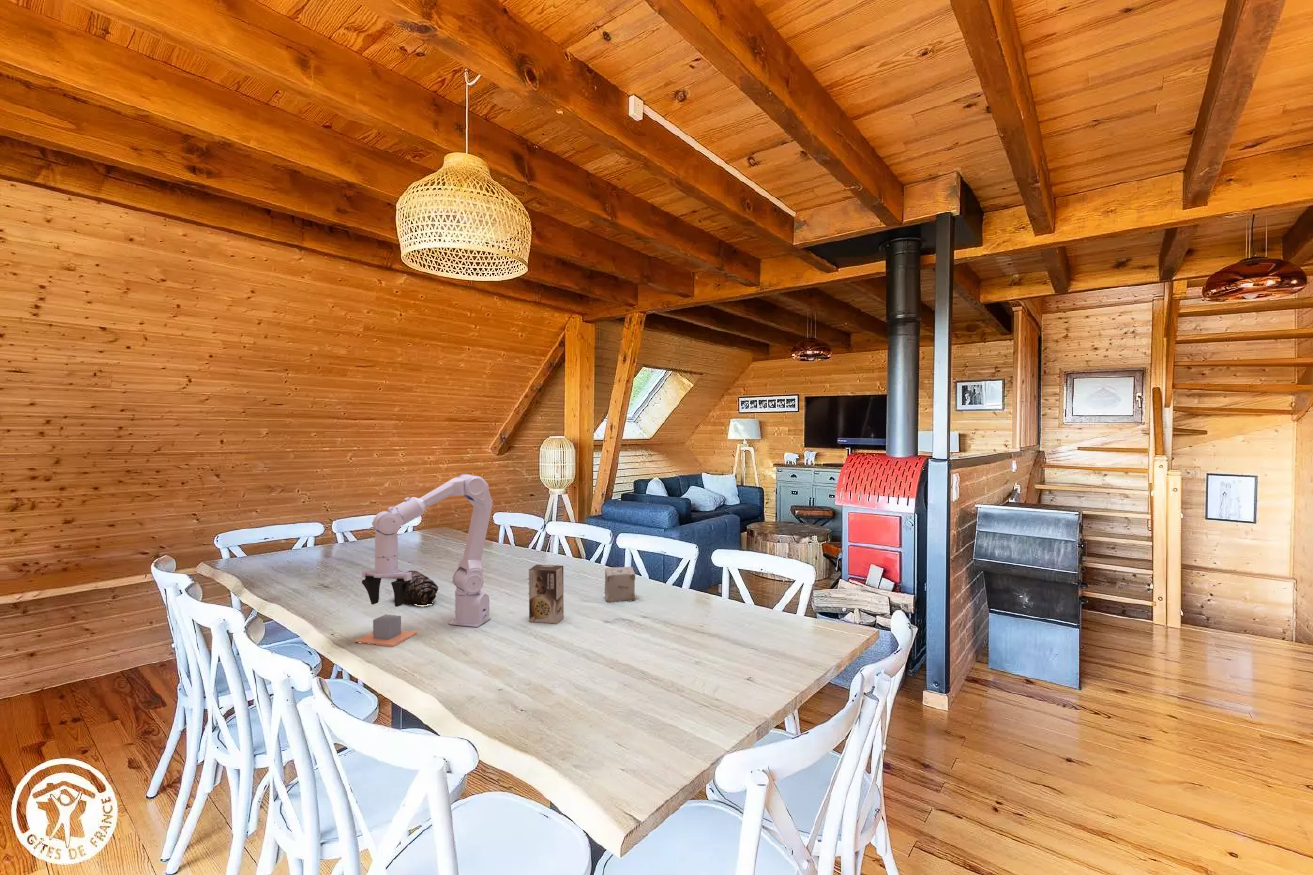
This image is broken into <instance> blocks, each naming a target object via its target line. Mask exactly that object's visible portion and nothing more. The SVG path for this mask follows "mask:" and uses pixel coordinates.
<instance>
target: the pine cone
mask: <svg viewBox="0 0 1313 875" xmlns="http://www.w3.org/2000/svg"><path fill="white" fill-rule="evenodd" d="M406 572H412V579H411V582H410V584H409V586H408V587H407V590H406V592H405V595H404V598H403V602H402V604H405V605H409V604H417V605H427V604H433V605H434V604H435V601H434V600H435V599H436V597H437V593H438V590H439V586H438V585H437V584H436V582H435V581H434V580H433V579H430V577H428V576H427V575H425V574H423V573H421V572H419V571H418V570H408V571H406ZM395 581H397V579H395ZM432 602H433V603H432Z"/></svg>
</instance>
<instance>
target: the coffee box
mask: <svg viewBox="0 0 1313 875" xmlns="http://www.w3.org/2000/svg"><path fill="white" fill-rule="evenodd" d="M528 597H529V598H528V600H529V601H528V602H529V603H528V608H529V609H528V610H529V611H528V612H529V613H528V615H529V616H528V621H529V623H543V624H545V623H546V624H559V622H560V621H561V620H563V619H564V615H565V614H564V612H565V611H564V601H565V599H564V565H559V564H557V565H556V564H554V565H553V564H535V565H534V566H532V567H531V568H528Z"/></svg>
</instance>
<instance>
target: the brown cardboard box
mask: <svg viewBox="0 0 1313 875" xmlns="http://www.w3.org/2000/svg"><path fill="white" fill-rule="evenodd" d="M635 580H636V573H635V571H634V567H633V566H621V567H620V566H619V567H616V566H615V567H609V566H608V567H605V569H604V596H605V602H606V603H612V602H621V601H629V602H630V601H634V600H636V597H635V596H636V595H635V594H636V592H635V586H636V585H635Z"/></svg>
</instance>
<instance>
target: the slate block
mask: <svg viewBox="0 0 1313 875" xmlns="http://www.w3.org/2000/svg"><path fill="white" fill-rule="evenodd" d="M401 630H402V615H397V614H395V615H394V614H384V615H381V616H378V617H376V618H375V619H373V620H372V632H373V638H376V639H385V640H390V639H392V638H394V637H395V636H397V635H399V634H401Z"/></svg>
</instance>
